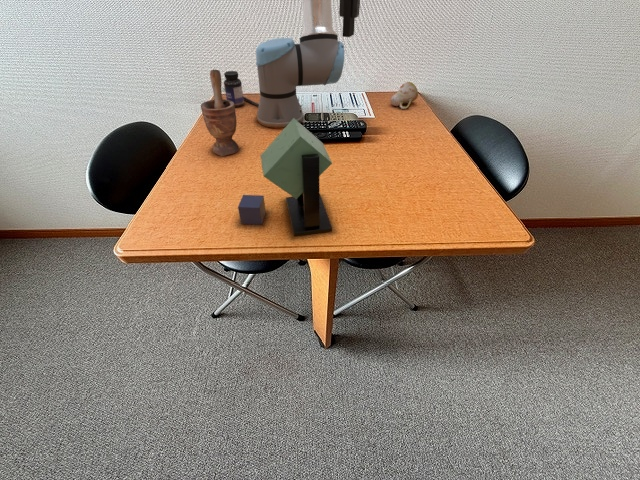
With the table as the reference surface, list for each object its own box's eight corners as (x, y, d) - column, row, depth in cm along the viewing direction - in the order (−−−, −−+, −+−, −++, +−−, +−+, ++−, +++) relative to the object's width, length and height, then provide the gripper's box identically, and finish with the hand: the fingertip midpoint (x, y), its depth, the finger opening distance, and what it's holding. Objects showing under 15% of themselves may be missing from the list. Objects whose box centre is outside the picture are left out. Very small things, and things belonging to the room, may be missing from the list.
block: (241, 224, 73) (237, 206, 70) (246, 211, 76) (243, 194, 73) (262, 224, 72) (259, 207, 69) (266, 212, 76) (263, 195, 73)
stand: (319, 197, 80) (319, 127, 69) (332, 231, 71) (334, 157, 59) (286, 200, 79) (280, 130, 68) (294, 236, 69) (288, 161, 58)
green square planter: (293, 117, 64) (260, 155, 68) (300, 136, 58) (263, 176, 62) (323, 143, 69) (290, 177, 72) (332, 163, 63) (296, 199, 66)
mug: (383, 105, 125) (392, 77, 123) (401, 113, 131) (410, 86, 128) (398, 106, 119) (407, 76, 117) (416, 114, 125) (425, 86, 122)
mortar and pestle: (205, 143, 102) (188, 71, 89) (233, 137, 105) (220, 66, 92) (215, 159, 94) (198, 83, 81) (245, 152, 97) (233, 78, 84)
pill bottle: (224, 104, 126) (218, 72, 118) (238, 100, 129) (233, 69, 121) (233, 109, 122) (227, 76, 115) (247, 105, 125) (243, 72, 118)
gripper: (400, -129, 56) (383, 34, 72) (329, -124, 61) (327, 29, 76) (387, -135, 51) (371, 42, 67) (310, -129, 56) (312, 36, 71)
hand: (348, 35), depth 72 cm, fingers closed
